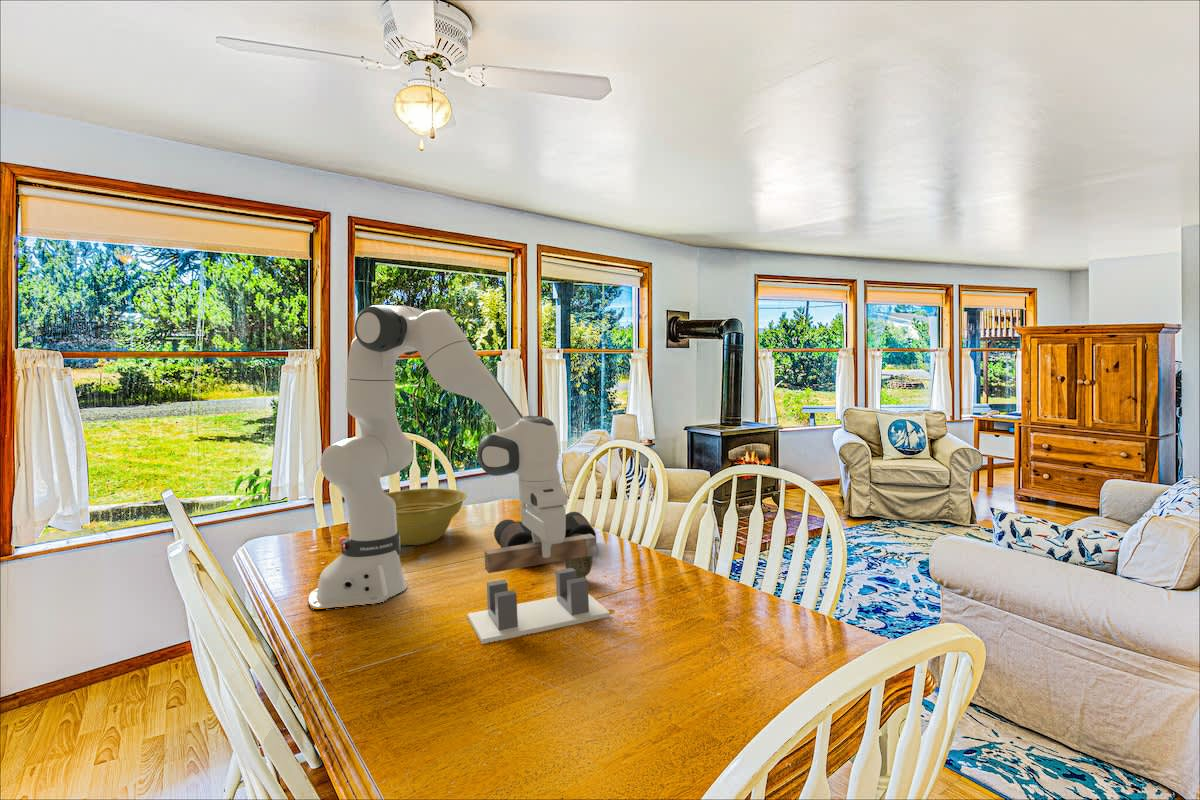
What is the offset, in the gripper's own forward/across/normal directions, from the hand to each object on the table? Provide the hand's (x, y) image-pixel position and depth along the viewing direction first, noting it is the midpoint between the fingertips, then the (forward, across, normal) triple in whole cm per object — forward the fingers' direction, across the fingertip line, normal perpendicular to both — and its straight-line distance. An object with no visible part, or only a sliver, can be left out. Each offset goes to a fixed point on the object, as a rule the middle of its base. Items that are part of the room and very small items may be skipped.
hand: (542, 553), depth 133 cm
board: (+14, 0, -1) cm, 14 cm away
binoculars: (+14, -41, +16) cm, 46 cm away
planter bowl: (+14, -76, -17) cm, 79 cm away
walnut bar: (+2, 0, 0) cm, 2 cm away
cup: (+14, -16, +15) cm, 26 cm away
